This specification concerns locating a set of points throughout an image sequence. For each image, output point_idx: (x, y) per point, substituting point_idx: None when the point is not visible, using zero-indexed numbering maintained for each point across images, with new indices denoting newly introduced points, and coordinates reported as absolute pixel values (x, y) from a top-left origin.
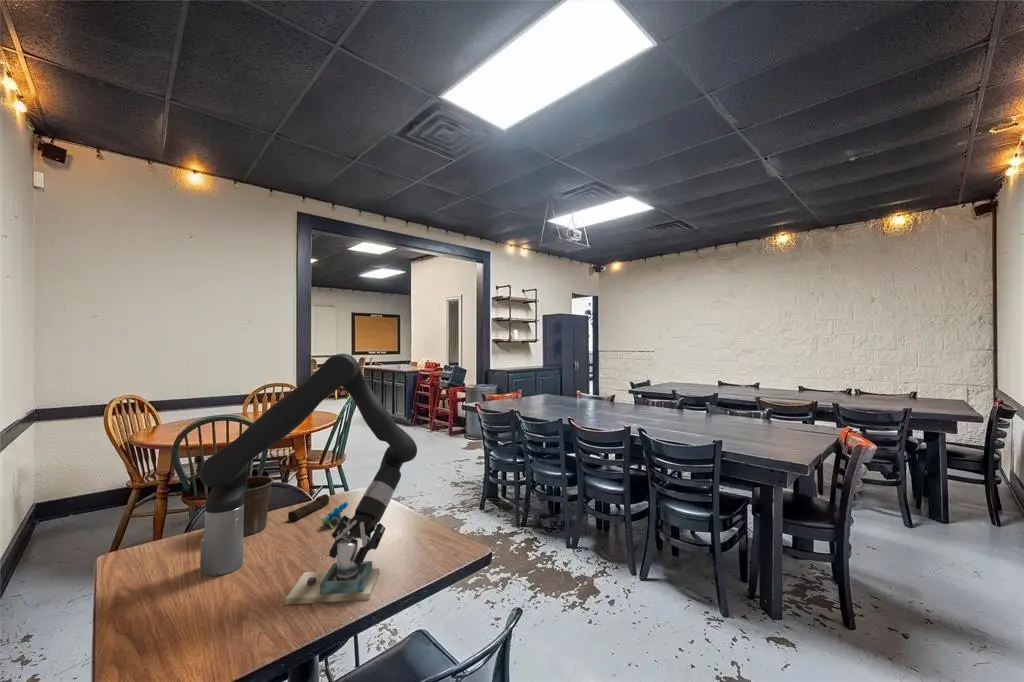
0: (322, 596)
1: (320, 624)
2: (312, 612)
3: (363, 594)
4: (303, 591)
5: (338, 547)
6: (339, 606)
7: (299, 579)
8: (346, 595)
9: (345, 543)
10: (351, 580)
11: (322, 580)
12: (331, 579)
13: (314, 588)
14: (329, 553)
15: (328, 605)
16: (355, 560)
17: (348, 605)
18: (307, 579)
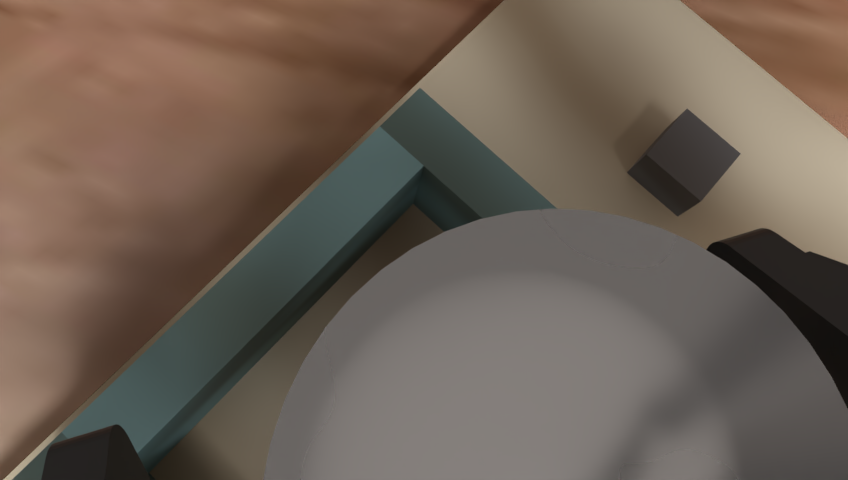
0: (360, 139)
1: (55, 7)
2: (280, 41)
3: (28, 462)
4: (585, 62)
5: (547, 216)
6: (162, 233)
7: (837, 132)
8: (177, 315)
9: (589, 440)
10: (182, 388)
11: (483, 144)
12: None
13: (560, 150)
14: (767, 232)
15: (266, 175)
16: (65, 451)
17: (101, 299)
18: (785, 182)
